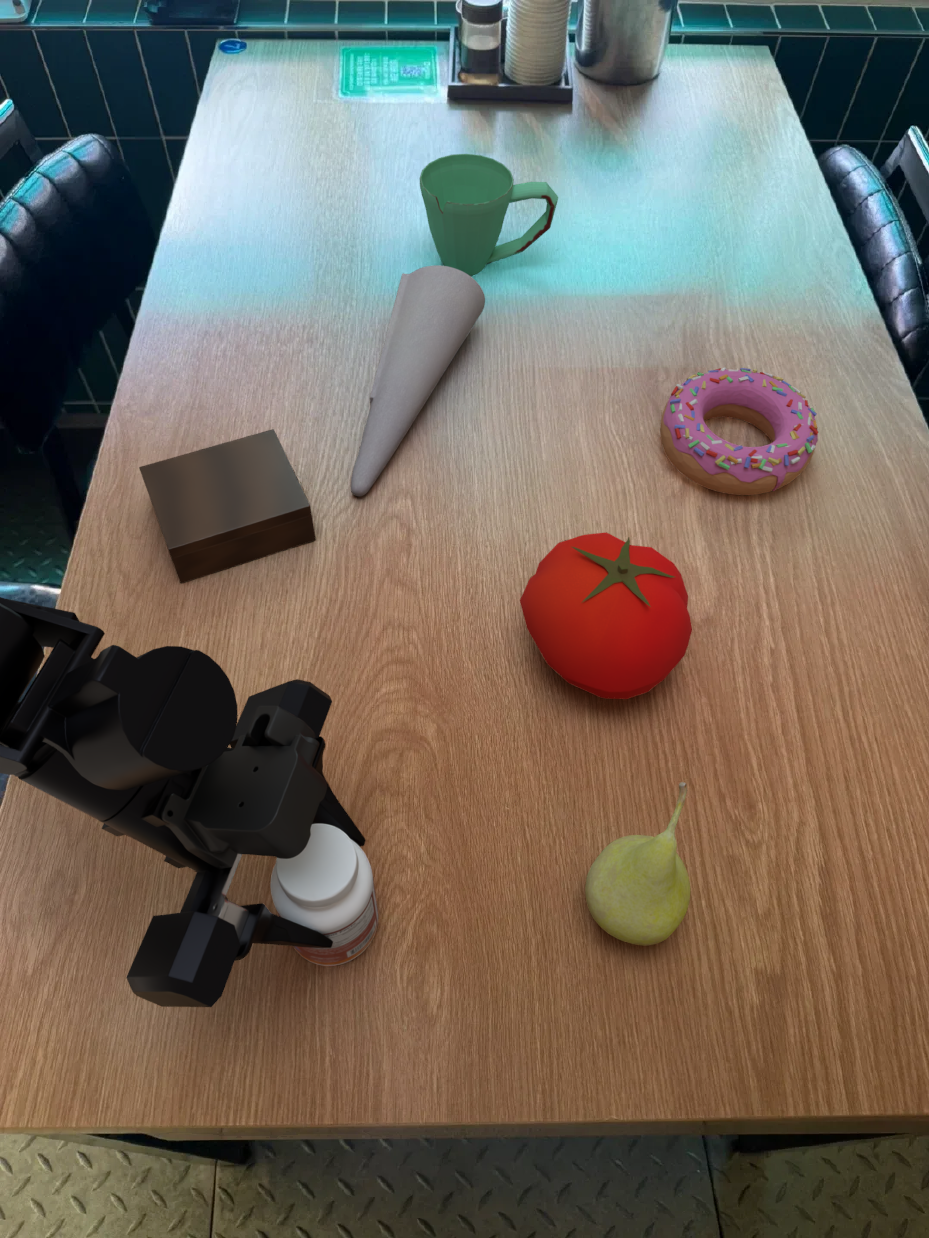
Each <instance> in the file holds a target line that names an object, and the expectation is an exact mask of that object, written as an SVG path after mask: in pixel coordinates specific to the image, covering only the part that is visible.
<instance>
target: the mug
mask: <svg viewBox="0 0 929 1238" xmlns="http://www.w3.org/2000/svg"><path fill="white" fill-rule="evenodd" d="M514 180H515V179H514V177H513V173H512V171H511V170H510V169H509V168H508V167H507V166H506V165H505V164H503V163H502V162H500V161H498V160H497V159H494V158H492V157H489V156H485V155H481V154H476V153H475V154H473V153H455V154H448V155H445V156H441V157H438V158H436V159H434V160H432V161H430V162H429V163H427V165H425V166H424V167H423V169H422V170H421V172H420V176H419V190H420V193H421V198H422V201H423V204H424V209H425V213H426V218H427V223H428V227H429V228H428V229H429V232H430V234H431V237H432V240H433V243H434V246H435V247H434V248H435V250H436V252H437V254H438V257H439V258H440V261H441V263H442V266H448V267H452V268H455V269H458V270H460V271H462V272H464V273H466V274H468V275H469V276H471V277H473V276H476V275H478V274H479V273H482V272H483V271H484V270H485V268H486V266H487V265H489V264H493V263H496V262H498V261H501V260H504V259H507V258H509V257H512V256H515V255H518V254H521V253H523V252H524V251H526V250H527V249H528V248H529V247H530V246H531V245H533V243H535V242H536V241H537V240H538V239H540V238H541V237H542V236H543V235H544V234H545V233H546V232H548V231H549V230H550V229H551V226H552V223H553V220H554V216H555V213H556V209H557V205H558V201H559V196H558V194H557V193H556V192H555V190H554V189H553V188H552V187H551V186H550V185H549V183H548V182H547V181H529V182H523V183H516V184H514V182H515V181H514ZM531 199H535V200H545V202H546V207H545V211H544V212H543V213H542V215H540V217H539V218H538V219H537V220H536V221H535V222H534V223H533V224H532V226H530V227H529V228H528V229H527V230H526V232H524V234H522V236H521V237H518V238H516V239H513V240H510V241H507V242H504V243H501V244H499V245H497V243H498V240H499V238H500V235H501V233H502V229H503V225H504V221H505V218H506V214H507V211H508V208H509V205H510V204H512V203H517V202H521V201H525V200H531Z"/></svg>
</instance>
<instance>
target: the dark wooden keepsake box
mask: <svg viewBox="0 0 929 1238" xmlns="http://www.w3.org/2000/svg"><path fill="white" fill-rule="evenodd" d="M139 471H140V474H141V477H142V480H143V482H144V485H145V488H146V492H147V494H148V497H149V500H150V503H151V506H152V509H153V511H154V514H155V517H156V519H157V522H158V525H159V528H160V530H161V534H162V537H163V539H164V542H165V546H166V547H167V550H168V553H169V556H170V559H171V562H172V565H173V567H174V569H175V572H176V575H177V578H178V581H179V583H180V584H183V583H186V582H190V581H192V580H195V579H199V578H203V577H205V576H208V575H212V574H215V573H218V572H220V571H224V570H227V569H230V568H233V567H236V566H239V565H243V564H246V563H248V562H249V563H250V562H253V561H255V560H258V559H261V558H265V557H268V556H271V555H274V554H277V553H281V552H283V551H284V552H285V551H287V550H290V549H293V548H295V547H299V546H302V545H305V544H308V543H312V542H314V541H316V540H317V538H316V532H315V525H314V519H313V512H312V506H311V504H310V502H309V500H308V498H307V496H306V494H305V491H304V489H303V487H302V485H301V483H300V481H299V479H298V476H297V475H296V473H295V470H294V469H293V466H292V464H291V462H290V460H289V458H288V456H287V454H286V452H285V450H284V448H283V446H282V443H281V441H280V440H279V437H278V435H277V433H276V431H275V429H273V428H272V429H268V430H264V431H262V432H261V431H260V432H258V433H255V434H251V435H247V436H243V437H240V438H237V439H233V440H230V441H227V442H223V443H219V444H215V445H211V446H208V447H204V448H201V449H198V450H195V451H191V452H188V453H184V454H180V455H176V456H173V457H171V458H170V457H169V458H166V459H163V460H159V461H155V462H152V463H149V464H145V465H142V466H139Z"/></svg>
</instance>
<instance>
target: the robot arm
mask: <svg viewBox="0 0 929 1238" xmlns="http://www.w3.org/2000/svg"><path fill="white" fill-rule="evenodd" d="M104 636H105V631H104V630H103V629H102V628H100V627H98V626H95V625H93V624H90V623H85V622H83V621H81V620H80V619H79V617H78V616H77V615H76V613H75V612H73V611H69V610H65V609H64V610H63V609H59V608H54V607H48V606H43V605H38V604H34V603H30V602H25V601H19V600H15V599H10V598H5V597H1V596H0V774H3V775H8V776H14V777H17V778H18V779H19V780H21V781H23V782H24V783H26V784H28V785H30V786H32V787H34V788H36V789H37V790H40V791H42V792H43V793H46V794H47V795H49V796H50V797H51V796H52V798H55V799H57V800H58V801H61V802H63V803H64V804H67V805H69V806H70V807H72V808H73V809H76V810H78V811H80V812H82V813H84V814H86V815H88V816H90V817H91V818H93V819H94V820H97V821H99V822H100V823H102V826H101V828H100V829H102V830H103V831H105V832H106V833H109V834H111V835H113V836H115V837H122V836H126V837H129V838H131V839H133V840H135V841H136V842H139V843H141V844H142V845H144V846H146V847H148V848H150V849H152V850H154V851H155V852H158V853H160V854H161V855H164V856H165V858H164V860H163V862H164V863H166V864H169V865H170V866H173V867H174V868H176V869H183V868H185V869H186V868H188V869H189V870H190V869H191V870H192V871H194V872H196V873H195V876H194V878H193V880H192V883H191V885H190V888H189V889H188V892H187V895H186V897H185V900H184V902H183V903H182V906H181V909H180V911H179V912H174V913H173V912H172V913H165V914H156V915H152V918H151V920H150V921H149V923H148V927H147V928H146V931H145V933H144V936H143V938H142V940H141V942H140V944H139V947H138V948H137V951H136V954H135V956H134V958H133V961H132V963H131V964H130V967H129V970H128V972H127V975H126V976H125V978H126V980H127V983H128V985H129V987H130V989H131V992H132V993H133V994H134V995H135V996H136V997H138V998H141V999H143V1000H145V1001H147V1002H150V1003H153V1004H155V1005H156V1006H159V1007H161V1008H162V1007H163V1008H213V1006H214V1005H215V1004H216V1003H217V1002H218V1001H219V1000H220V998H222V996H223V993H224V991H225V989H226V986H227V983H228V981H229V978H230V975H231V972H232V969H233V968H234V965H235V962H238V961H242V960H244V959H245V958H246V957H247V956H248V955H249V954H250V952H251V949H252V947H253V944H256V945H257V944H258V945H268V946H269V945H271V946H284V947H293V946H296V947H309V948H331V947H332V945H333V941H332V940H331V939H329V938H328V937H326V936H324V935H323V934H321V933H320V932H318V931H316V930H313V929H310V928H308V927H305V926H303V925H300V924H298V923H295V922H293V921H290V920H288V919H285V918H282V917H280V916H279V915H278V914H275V913H272V912H271V911H270V909H269V908H268V907H267V905H266V904H265V903H263V902H260V903H252V904H242V905H239V904H237V903H235V902H233V901H231V900H230V899H229V898H228V897H227V895H228V892H229V890H230V887H231V884H232V881H233V879H234V877H235V874H236V872H237V869H238V867H239V865H240V862H241V859H242V857H243V855H245V856H262V857H272V858H273V857H274V858H280V859H290V858H293V857H295V856H297V855H299V854H300V853H301V852H302V851H303V850H304V849H305V847H306V846H307V844H308V841H309V839H310V836H311V832H310V829H311V826H312V824H328V825H332V826H335V827H337V828H339V829H340V830H342V831H343V832H344V833H346V834H347V835H348V837H349V838H350V839H351V840H353V841H354V842H355V843H356V844H357V845H359V846H360V848H362V847H364V846H365V844H366V841H367V840H366V837H365V836H364V835H363V833H362V832H361V830H360V829H359V827H358V826H357V825H356V823H355V822H354V821H353V819H352V818H351V816H350V814H348V812H347V811H346V809H345V808H344V806H343V805H342V804H341V802H340V800H339V799H338V798H337V796H336V795H335V794H334V792H333V789H332V788H331V787H330V784H329V782H328V781H327V779H326V777H325V775H324V771H323V768H324V765H323V764H324V761H323V760H324V752H325V749H326V740H325V739H324V737H323V736H320V735H321V734H322V730H323V727H324V725H325V722H326V719H327V718H328V714H329V712H330V709H331V707H332V703H333V700H332V698H331V696H330V695H329V694H328V693H326V692H325V691H323V690H322V689H321V688H320V687H318V686H316V685H315V684H314V683H313V682H311V681H307V680H302V679H297V678H296V679H293V680H288V681H286V682H283V683H281V684H277V685H276V686H272V687H270V688H268V689H265V690H262V691H259V692H257V693H255V694H252V695H249V696H248V698H247V699H246V702H245V705H244V707H243V709H242V711H241V713H240V716H239V718H238V702H237V697H236V693H235V690H234V687H233V684H232V682H231V681H230V678H229V677H228V674H226V672H225V671H224V670H223V668H222V667H221V665H219V664H218V662H216V661H215V660H214V659H213V658H212V657H211V656H209V655H208V654H206V653H205V652H203V651H201V650H199V649H195V650H194V649H190V648H188V647H185V646H180V645H179V646H178V645H165V646H161V647H157V648H152V649H151V650H149V651H146V652H144V653H143V654H141V655H139V656H135V655H133V654H132V653H130V652H129V651H127V650H126V649H124V648H123V647H121V646H120V645H116V644H112V645H110V646H108V647H106V648H104V649H102V650H101V651H100V652H99V654H98V655H97V656H96V657H95V658H93V657H92V656H93V655H94V653H95V651H96V650H97V649H98V646H99V644H100V643H101V641H102V640H103V638H104ZM44 647H45V648H52V650H51V651H50V652H49V655H48V656H47V657H46V660H45V661H44V658H45V652H44V649H43V648H44ZM43 661H44V663H43ZM42 664H43V665H42ZM41 665H42V666H41ZM40 667H41V668H40ZM39 668H40V669H39ZM38 670H39V671H38ZM37 672H38V673H37ZM36 673H37V675H36ZM35 675H36V676H35ZM34 677H35V678H34ZM33 678H34V679H33ZM32 680H33V681H32ZM31 682H32V683H31ZM30 683H31V684H30ZM29 685H30V686H29ZM28 687H29V688H28ZM27 688H28V689H27ZM26 690H27V691H26ZM25 691H26V692H25ZM24 693H25V694H24ZM23 695H24V696H23ZM22 696H23V697H22ZM20 700H21V701H20ZM229 746H230V747H229Z"/></svg>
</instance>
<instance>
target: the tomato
mask: <svg viewBox="0 0 929 1238" xmlns="http://www.w3.org/2000/svg"><path fill="white" fill-rule="evenodd" d="M519 603H520V607H521V610H522V614H523V618H524V622H525V626H526V629H527V631H528V633H529V635H530V637H531V638H532V640H533V642H534V643H535V646H536V647H537V649H538V650H539V653H540V654H541V656H542V658H543V659H544V661H545V663H546V664H547V665H548V666H549V667H550V668H551V669H552V670H553V671H554V672H555V673H557V675H559V676H560V677H561V678H562V679H563V680H564V681H565V682H566V683H568V684H569V685H572V686H574V687H575V688H578V689H580V690H583V691H585V692H588V693H589V694H592V695H594V696H596V697H599V698H600V699H604V700H605V699H606V700H607V699H608V700H609V699H611V700H628V699H631V698H634V697H638V696H640V695H643V694H646V693H648V692H650V691H651V690H653V689H654V688H655V687H656V686H657V685H658V684H659V685H660V683H662V682H663V681H665V679H666V678H667V677H668V676H669V674H670V673H671V672H672V671H673V670H674V669H675V668H676V666H677V665H679V663H680V662H681V661H682V659H683V658H684V657H685V655H686V653H687V650H688V646H689V643H690V641H691V635H692V632H693V626H692V620H691V616H690V613H689V610H688V604H689V595H688V592H687V589H686V585H685V582H684V579H683V576H682V574H681V572H680V570H679V569H678V567H677V565H676V564H675V563H674V562H673V561H671V560H670V559H668V558H667V557H666V556H664V555H663V554H662V553H660V552H659V551H657V550H656V549H655V548H654V547H652V546H645V545H644V546H643V545H634V544H631V540H630V537H628V538H627V539H626V541H624V540H622V539H620V538H618V537H616V536H614V535H613V534H611V533H608V532H606V531H605V532H597V533H588V534H587V533H586V534H583V535H578V536H575V537H573V538H569V539H566V540H563V541H559V542H557V544H555V546H554V547H553V548H552V549H551V550H549V552H548V553H547V554H546V555H545V556H544V557H543V558H542V559H541V560H540V561H539V563H538V565H537V568H536V570H535V573H534V574H533V575H532V576H531V577H530V578H529V579H528V582H527V583H526V586H525V588H524V590H523V592H522V594H521V597H520V599H519Z"/></svg>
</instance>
